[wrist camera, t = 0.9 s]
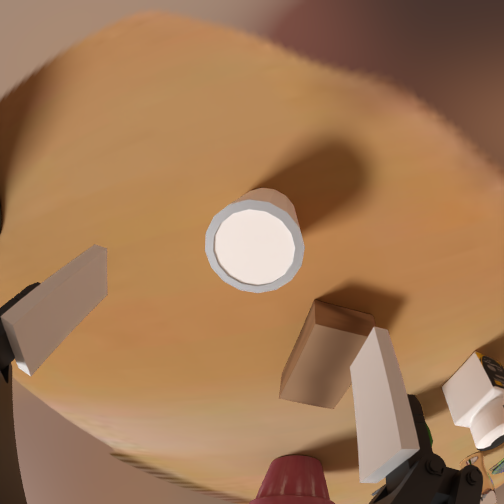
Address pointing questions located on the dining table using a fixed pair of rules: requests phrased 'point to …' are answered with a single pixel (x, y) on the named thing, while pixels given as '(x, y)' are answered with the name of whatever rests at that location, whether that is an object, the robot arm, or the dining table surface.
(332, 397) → the walnut base block
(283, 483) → the plant pot
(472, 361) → the medicine bottle
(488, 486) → the beer glass
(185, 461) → the dining table surface
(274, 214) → the white cup
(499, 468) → the dish towel
